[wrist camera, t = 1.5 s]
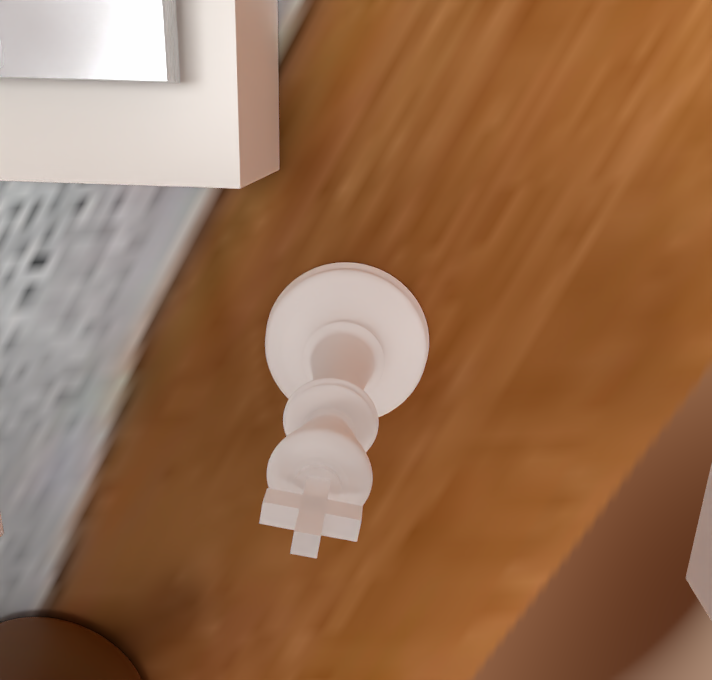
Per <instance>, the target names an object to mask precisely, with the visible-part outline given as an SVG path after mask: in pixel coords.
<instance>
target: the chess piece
mask: <svg viewBox="0 0 712 680" xmlns="http://www.w3.org/2000/svg"><path fill="white" fill-rule="evenodd" d="M428 352H429V332H428V326H427V322H426V318H425V316H424V313H423V311H422V309H421V307H420V305H419V303H418V301H417V300H416V298H415V297H414V296H413V294H412V293H411V292H410V291H409V290H408V289H407V287H406V286H404V285H403V284H402V283H401V282H400V281H399V280H397V279H396V278H395V277H393V276H392V275H390V274H388V273H386V272H384V271H382V270H380V269H378V268H375V267H372V266H369V265H365V264H360V263H352V262H340V263H331V264H326V265H322V266H319V267H316V268H314V269H311V270H309V271H307V272H305V273H304V274H302V275H300V276H299V277H297V278H296V279H295V280H293V281H292V282H291V283H290V284H289V285H288V286H287V287H286V288H285V289H284V290H283V291H282V293H281V294H280V295H279V297H278V298H277V300H276V302H275V303H274V305H273V307H272V310H271V312H270V315H269V318H268V322H267V327H266V336H265V353H266V359H267V363H268V367H269V370H270V372H271V375H272V377H273V379H274V381H275V382H276V384H277V386H278V387H279V389H280V390H281V391H282V392H283V394H284V395H285V396H286V397H287V398H288V399H289V400H288V401H287V404H286V406H285V409H284V414H283V426H284V431H285V434H286V437H285V438H284V439H283V440H282V441H281V442H280V443H279V444H278V445H277V446H276V448H275V449H274V451H273V452H272V454H271V456H270V459H269V462H268V466H267V483H268V487H269V488H267V490H266V493H265V496H264V499H263V503H262V509H261V515H260V522H259V524H264V525H270V526H275V527H280V528H285V529H291V530H294V534H293V540H292V545H291V551H290V554H295V555H300V556H306V557H311V558H316V559H317V554H318V549H319V544H320V539H321V535H323V536H328V537H333V538H338V539H344V540H349V541H354V542H357V539H358V535H359V530H360V526H361V521H362V509H363V505H364V503H365V502H366V500H367V498H368V496H369V494H370V491H371V488H372V481H373V475H372V468H371V464H370V461H369V458H368V456H367V454H366V452H367V451H368V450H369V448H370V447H371V446H372V444H373V443H374V441H375V438H376V436H377V432H378V426H379V419H378V417H381V416H383V415H385V414H387V413H389V412H391V411H392V410H394V409H395V408H397V407H398V406H399V405H400V404H402V403H403V402H404V401H405V400H406V399H407V398H408V397H409V396H410V394H411V393H412V392H413V391H414V389H415V388H416V386H417V384H418V383H419V381H420V379H421V376H422V374H423V371H424V368H425V365H426V361H427V357H428Z"/></svg>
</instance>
